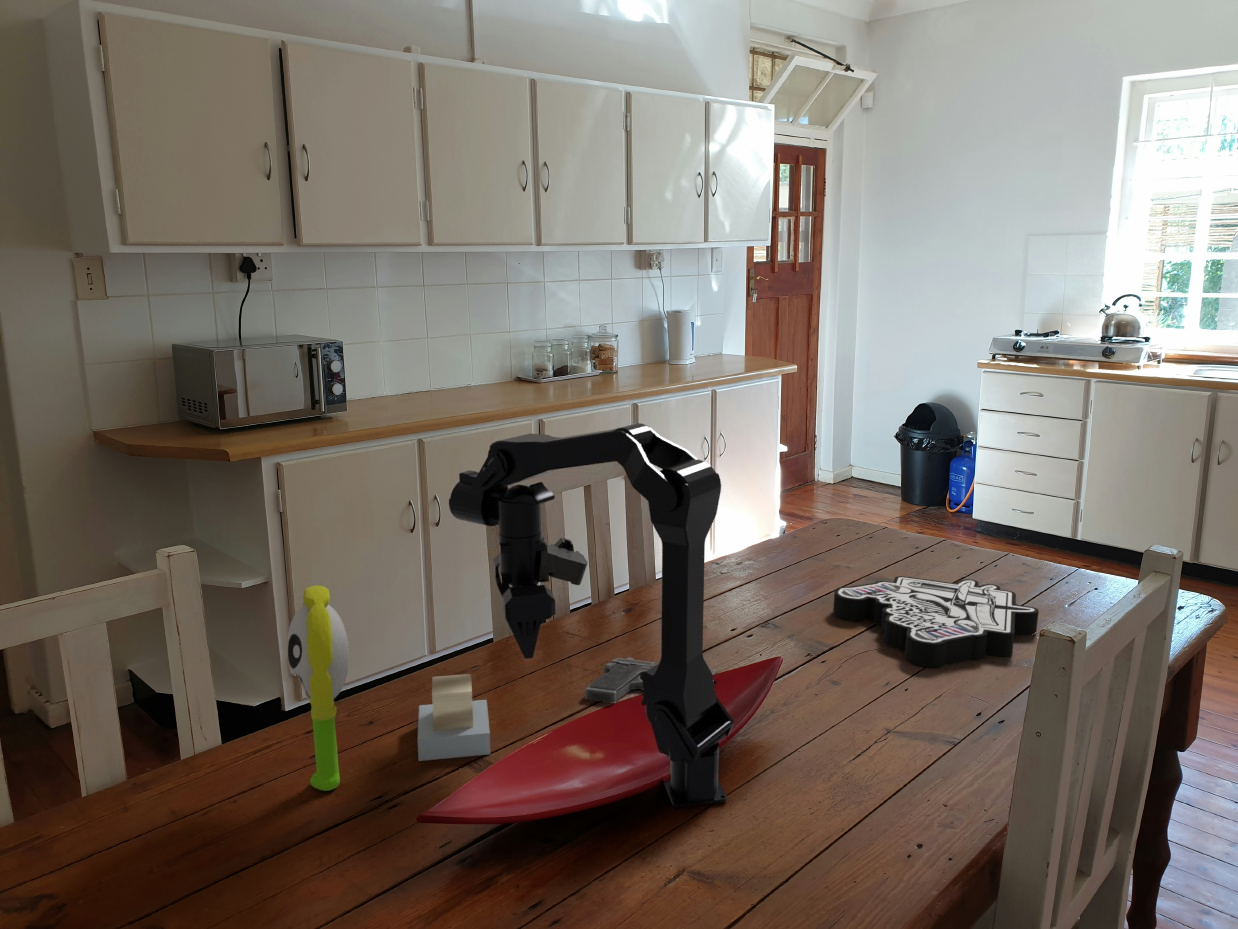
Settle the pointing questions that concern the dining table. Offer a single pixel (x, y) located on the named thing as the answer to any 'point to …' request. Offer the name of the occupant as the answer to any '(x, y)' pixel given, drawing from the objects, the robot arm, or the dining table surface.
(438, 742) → the base
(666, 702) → the robot arm
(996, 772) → the dining table surface
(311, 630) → the toy
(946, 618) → the decorative sign
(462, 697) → the cube
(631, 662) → the handgun
